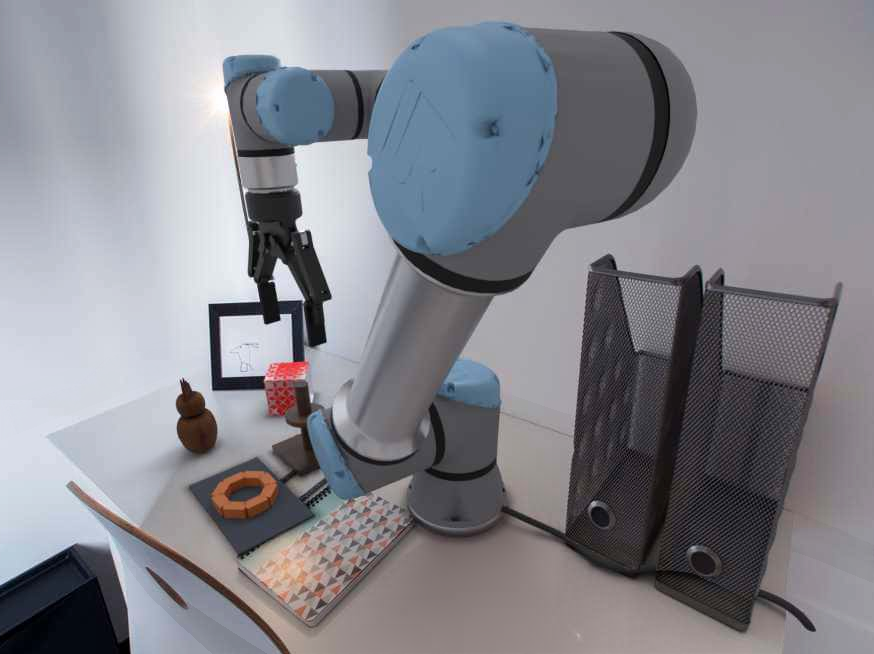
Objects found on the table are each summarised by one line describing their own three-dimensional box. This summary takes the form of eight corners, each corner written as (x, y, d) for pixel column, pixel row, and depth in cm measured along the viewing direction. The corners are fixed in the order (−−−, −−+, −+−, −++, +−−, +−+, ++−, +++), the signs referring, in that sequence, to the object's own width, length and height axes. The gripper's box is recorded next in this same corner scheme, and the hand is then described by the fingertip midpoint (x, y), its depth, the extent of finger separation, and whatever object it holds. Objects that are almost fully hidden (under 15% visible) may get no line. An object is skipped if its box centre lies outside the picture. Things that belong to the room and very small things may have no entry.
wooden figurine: (207, 460, 93) (186, 385, 86) (177, 457, 94) (155, 382, 87) (226, 439, 99) (208, 367, 92) (198, 436, 100) (179, 365, 93)
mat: (315, 516, 80) (314, 514, 80) (239, 555, 73) (239, 553, 73) (257, 458, 93) (256, 456, 93) (189, 487, 87) (188, 485, 87)
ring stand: (350, 454, 94) (342, 384, 87) (300, 477, 88) (287, 405, 81) (321, 431, 101) (311, 365, 94) (272, 452, 95) (259, 383, 88)
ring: (287, 499, 83) (286, 490, 82) (230, 527, 78) (227, 518, 77) (261, 472, 89) (259, 463, 88) (206, 496, 84) (203, 487, 83)
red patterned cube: (277, 396, 113) (270, 363, 109) (314, 394, 113) (309, 361, 110) (270, 416, 106) (263, 381, 102) (309, 413, 107) (304, 378, 103)
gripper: (347, 193, 67) (361, 347, 77) (253, 179, 83) (275, 308, 94) (295, 201, 63) (317, 363, 73) (207, 185, 79) (236, 319, 89)
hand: (294, 332), depth 83 cm, fingers open, 13 cm apart
